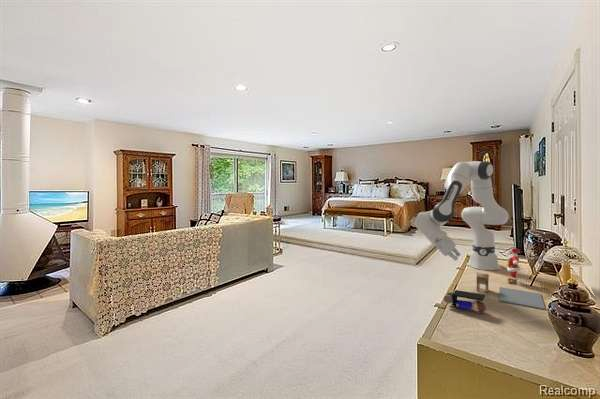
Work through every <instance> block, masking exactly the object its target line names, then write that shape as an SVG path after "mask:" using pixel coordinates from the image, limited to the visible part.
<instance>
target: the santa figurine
mask: <svg viewBox="0 0 600 399" xmlns="http://www.w3.org/2000/svg"><path fill="white" fill-rule="evenodd" d="M520 253H521V251H520V250H519V249H518V248H515V247H514V248H511V249H509V252H508V256H507V265H506V266H507V267H506V269H507V272H509V275H510V276H511V277H508V278H507V280H508V281H507V283H508V284H510V285H518V283H517V280H518V275H517V273H518V272H520V271H521V266H519V261H520V258H519V256H518V254H520Z"/></svg>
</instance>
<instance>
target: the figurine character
mask: <svg viewBox="0 0 600 399" xmlns="http://www.w3.org/2000/svg"><path fill="white" fill-rule="evenodd" d="M458 297H459V298H462V299H469V301H468V300H460V299H458ZM485 297H486V294H483V293H476V292H471V291H463V290H457V289H455V290H454V292H452V291H449V292H447V293H446V295H444V297H443V301H444V302H446V304H450V305H449V308H456V309H457V308H460V309H467V310H473V311H474V312H475V313H478V314H482V313H484V312H485V311H486V304H485V303H484V299H485ZM470 300H473V302H472V301H470Z"/></svg>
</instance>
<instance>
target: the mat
mask: <svg viewBox="0 0 600 399" xmlns="http://www.w3.org/2000/svg"><path fill="white" fill-rule="evenodd" d="M498 294H499V295H498V302H499V303H506V304H510V305H515V306H522V307H527V308H532V309H537V310H544V311H546V308H545V305H544V304H545V303H544V301H543V298H542V295H541V293H540V292H535V291H534V292H533V291H526V290H522V289H521V290H520V289H514V288H507V287H503V286H499V293H498Z"/></svg>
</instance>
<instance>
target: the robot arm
mask: <svg viewBox="0 0 600 399" xmlns="http://www.w3.org/2000/svg"><path fill="white" fill-rule="evenodd" d="M493 174H494V166H493V164H492V163H491V162H490V161H487V160H486V161H485V160H482V161H478V160H473V161H459V162H457V163H455V164H454V165H453V167H451V170H450V171H449V172H448V174H447V177H446V178H445V181H444V184H443V185H444V186H443V187H444V189H445V190H446V191H445V193H444V195H443V197H442V200H441V201H439V202H438V203H436V205H435V206H434V207H433V209H431V210H429V211H421V212H419V213H417V215H416V216H415V217H414V219H413V220H412V221H413V224H414V226H415V227H416V228H417V230H418V231H419V232H420V233H421V234H423V235H424V237H426V239H427V241H429V242H430V243H431V244H432V245H433V246H435V247H436V248H437V250H439V251H440V253H441V254H442V255H443V256H445V257H447V256H449V257H450V258H451V259H453V260H454V261H455V262H456V261H458V259H459V257H460V256H461V253H460V251H458V249H457V248H456V246H457V245H456V243H455V241H453V240H452V239H451V237H450V236H449V235H448V233H447V232H446V231H444V230H442V228H441V227H442V226H444V225H445V224H446V223H448V221H451V220H452V219H453V217H454V215H455V204H456V202H457V200H458V197H459V195H460V194H461V193H462V192H463V191H464V190H465V188H466V186H467V184H468V183H469V181H470V188H471V198H472V200H473V201H474V202H475V203H477V204H479V205H481V206H469V207H464V208H463V210H462V211H461V214H460V215H461V219H462V220H463V222H465V223H466V224H467V225H468V226H469V227H470V228H471V231H472V235H473V236H472V237H473V244H472V252H470V253H469V262H466V266H468V267H471V268H474V269H476V270H483V271H496V270H498V271H499V270H502V267H501V266H500V264H499V260H498V255H497V254H496V246H495V235H494V233H493V232H492V231H490V230H489V229H488V228H486V227H485V226H484V225H488V226H489V225H490V226H491V225H493V226H497V225H505V224H507V222H508V221H509V219H510V215H509V213H508V210H507V209H505V208H504V207H502V206H500V204H498V203H497V201H496V200H495V198H494V192H493V183H492V176H493Z"/></svg>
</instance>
